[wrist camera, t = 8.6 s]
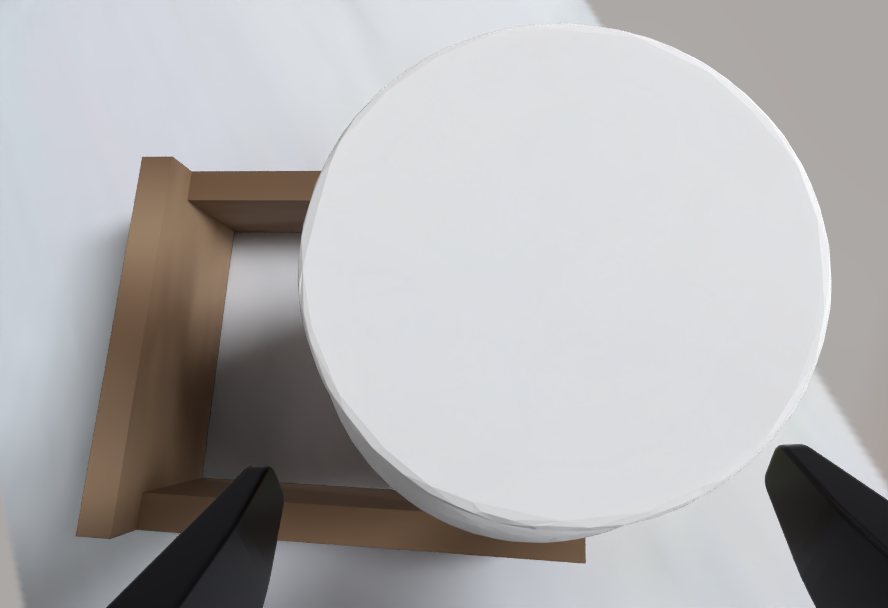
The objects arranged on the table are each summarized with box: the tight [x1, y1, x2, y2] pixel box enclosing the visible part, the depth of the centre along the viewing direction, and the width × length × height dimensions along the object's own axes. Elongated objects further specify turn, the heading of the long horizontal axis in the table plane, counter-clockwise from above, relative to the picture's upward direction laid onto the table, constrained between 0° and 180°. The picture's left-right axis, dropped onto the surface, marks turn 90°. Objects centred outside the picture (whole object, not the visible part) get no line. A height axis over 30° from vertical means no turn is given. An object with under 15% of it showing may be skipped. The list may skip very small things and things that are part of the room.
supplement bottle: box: [298, 23, 831, 543], centre depth 11 cm, size 7×7×13 cm
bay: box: [76, 157, 586, 563], centre depth 16 cm, size 11×14×4 cm
